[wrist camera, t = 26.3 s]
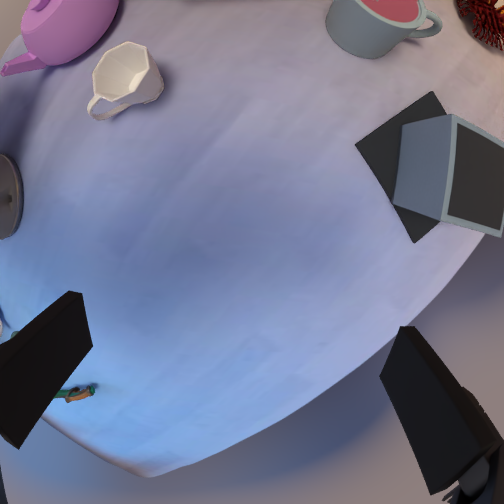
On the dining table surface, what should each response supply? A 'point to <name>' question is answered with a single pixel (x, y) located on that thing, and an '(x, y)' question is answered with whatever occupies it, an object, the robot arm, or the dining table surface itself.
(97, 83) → the cup
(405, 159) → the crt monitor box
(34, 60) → the teapot
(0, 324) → the cup
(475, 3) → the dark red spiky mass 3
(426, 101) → the mat
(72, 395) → the knife
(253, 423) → the dining table surface
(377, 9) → the mug
